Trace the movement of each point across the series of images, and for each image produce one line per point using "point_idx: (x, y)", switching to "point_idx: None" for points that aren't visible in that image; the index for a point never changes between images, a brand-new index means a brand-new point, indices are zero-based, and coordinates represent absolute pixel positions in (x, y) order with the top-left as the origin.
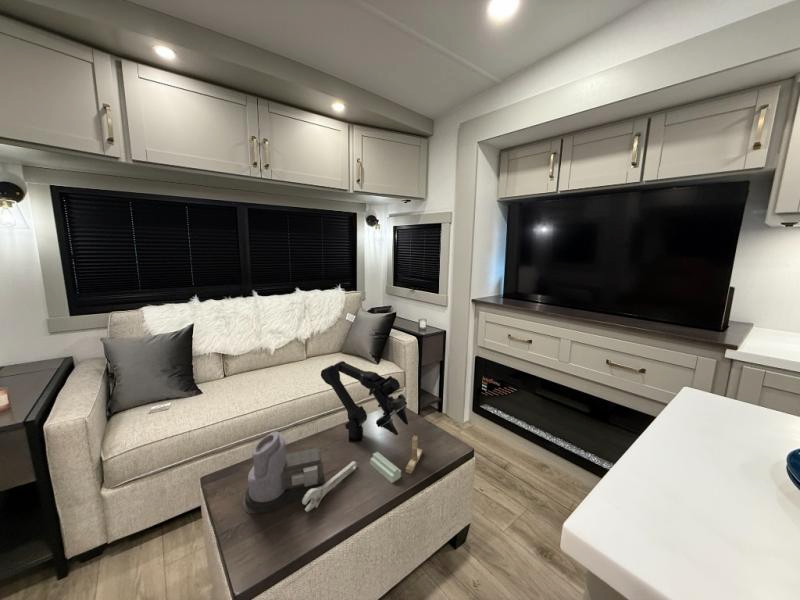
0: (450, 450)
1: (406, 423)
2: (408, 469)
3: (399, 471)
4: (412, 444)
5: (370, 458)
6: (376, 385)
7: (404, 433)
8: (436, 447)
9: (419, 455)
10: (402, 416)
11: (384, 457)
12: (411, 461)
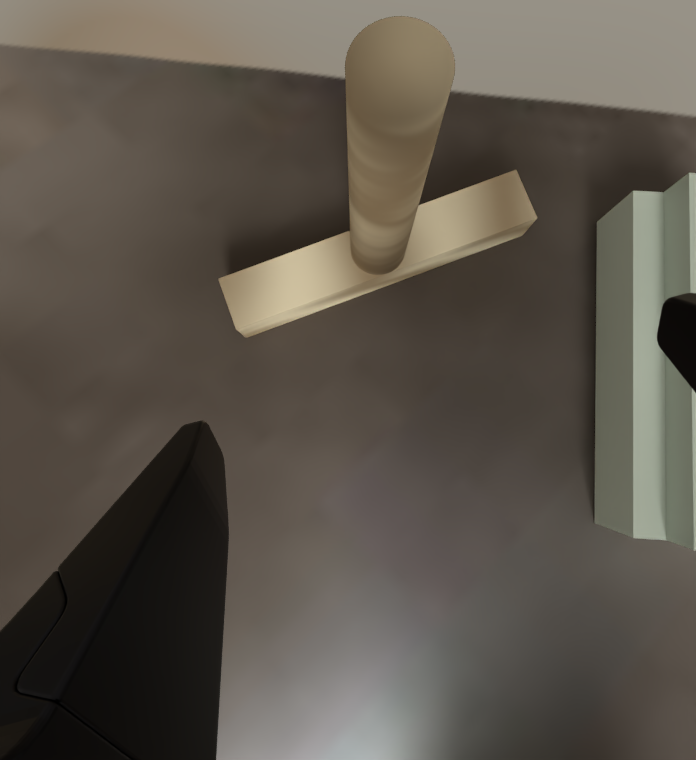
0: (13, 135)
1: (211, 456)
2: (523, 196)
3: (652, 194)
4: (428, 165)
5: None
6: None
7: None
8: (64, 250)
9: (298, 253)
10: (164, 661)
11: (693, 408)
12: (430, 240)
